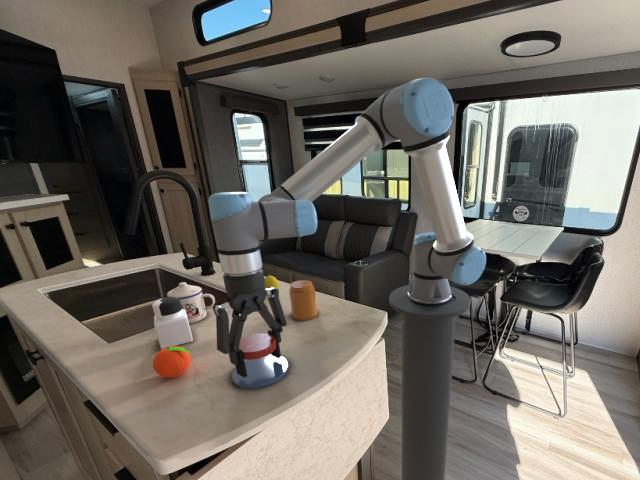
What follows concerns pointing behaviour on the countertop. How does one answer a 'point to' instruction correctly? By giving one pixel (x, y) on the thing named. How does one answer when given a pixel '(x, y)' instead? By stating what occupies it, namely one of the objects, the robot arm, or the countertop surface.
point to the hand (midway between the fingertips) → (260, 364)
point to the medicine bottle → (171, 322)
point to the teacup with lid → (191, 301)
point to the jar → (303, 300)
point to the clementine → (171, 361)
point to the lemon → (271, 282)
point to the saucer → (261, 372)
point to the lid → (257, 346)
